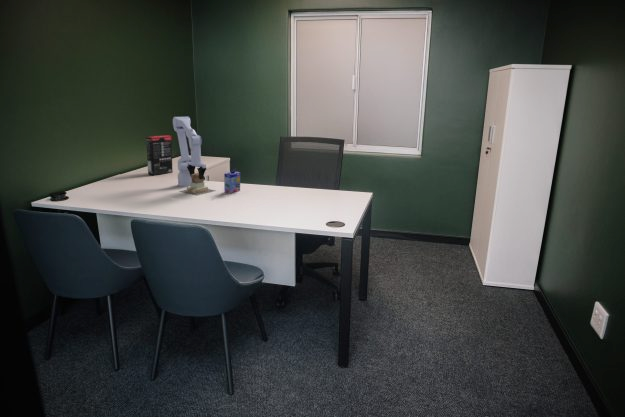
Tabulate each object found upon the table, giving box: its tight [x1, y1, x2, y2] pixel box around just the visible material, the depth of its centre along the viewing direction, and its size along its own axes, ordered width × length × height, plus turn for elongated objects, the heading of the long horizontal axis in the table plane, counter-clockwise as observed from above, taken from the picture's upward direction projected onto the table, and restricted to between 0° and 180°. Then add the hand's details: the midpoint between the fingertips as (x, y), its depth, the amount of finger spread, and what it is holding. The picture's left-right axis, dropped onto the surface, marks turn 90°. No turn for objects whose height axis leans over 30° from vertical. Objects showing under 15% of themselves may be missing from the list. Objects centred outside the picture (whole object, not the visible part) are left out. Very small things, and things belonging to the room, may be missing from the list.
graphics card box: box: [145, 134, 174, 176], centre depth 319 cm, size 17×7×27 cm, turn 144°
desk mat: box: [178, 188, 216, 196], centre depth 274 cm, size 16×16×1 cm
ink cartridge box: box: [223, 168, 241, 195], centre depth 273 cm, size 10×6×14 cm, turn 152°
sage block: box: [190, 182, 205, 189], centre depth 272 cm, size 6×6×3 cm
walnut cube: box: [191, 172, 205, 184], centre depth 271 cm, size 5×5×5 cm
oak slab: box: [186, 185, 209, 193], centre depth 273 cm, size 9×9×2 cm
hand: (196, 178), depth 271 cm, fingers open, 7 cm apart
